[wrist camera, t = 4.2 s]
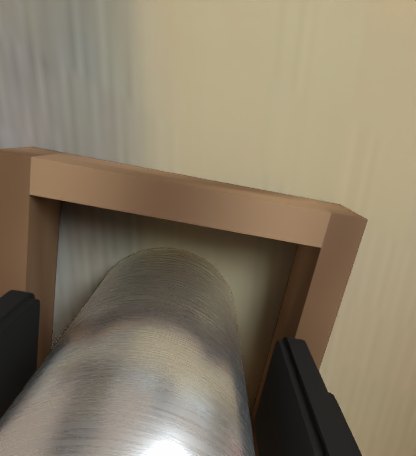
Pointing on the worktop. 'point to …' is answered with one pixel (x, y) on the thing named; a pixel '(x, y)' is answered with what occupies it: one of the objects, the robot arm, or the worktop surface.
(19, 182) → the pocket frame
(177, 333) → the spice tin
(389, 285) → the worktop surface
